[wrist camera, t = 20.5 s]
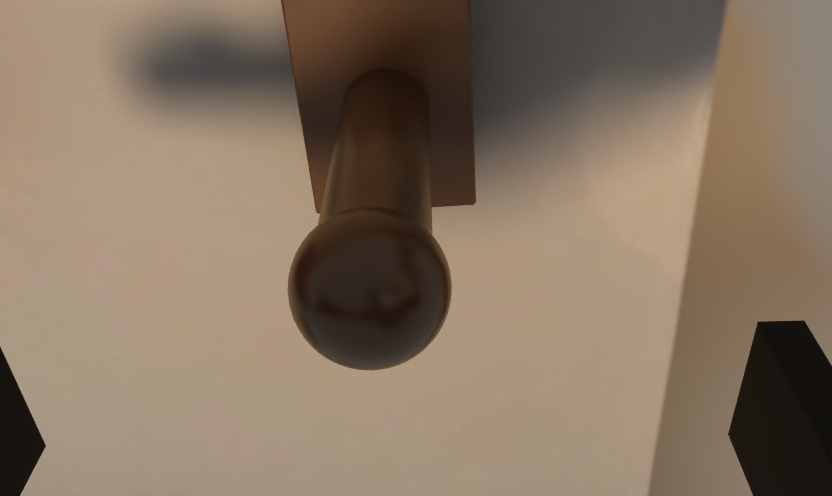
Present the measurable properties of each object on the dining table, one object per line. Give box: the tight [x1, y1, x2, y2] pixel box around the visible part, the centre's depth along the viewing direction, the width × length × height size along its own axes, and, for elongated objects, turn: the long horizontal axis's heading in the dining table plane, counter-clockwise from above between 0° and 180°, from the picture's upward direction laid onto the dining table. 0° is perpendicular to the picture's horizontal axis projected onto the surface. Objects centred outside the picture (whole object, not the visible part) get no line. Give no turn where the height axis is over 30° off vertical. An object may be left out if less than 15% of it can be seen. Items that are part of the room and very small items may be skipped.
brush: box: [281, 0, 476, 370], centre depth 22 cm, size 8×6×15 cm
